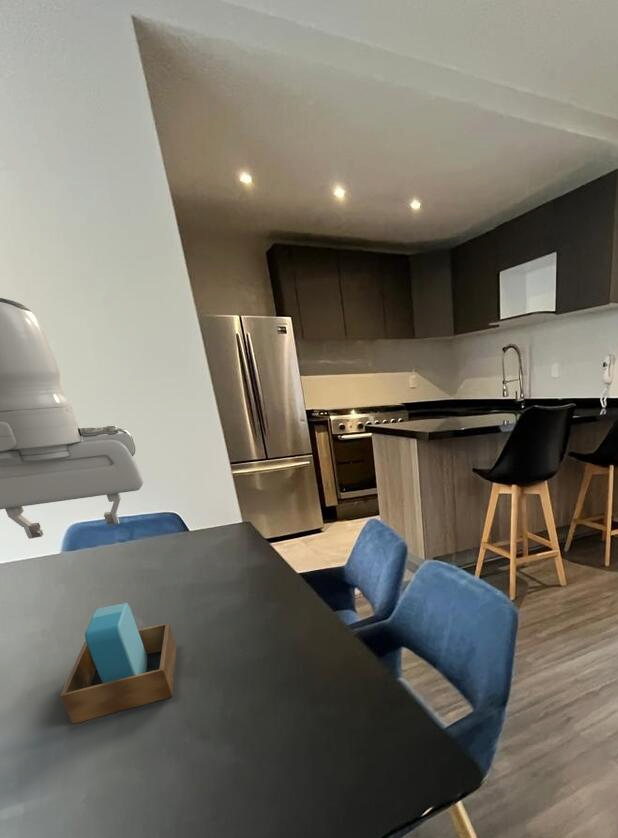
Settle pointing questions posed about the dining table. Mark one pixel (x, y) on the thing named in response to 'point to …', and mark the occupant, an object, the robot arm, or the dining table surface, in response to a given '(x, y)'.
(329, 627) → the dining table surface
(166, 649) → the wooden box
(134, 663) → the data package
